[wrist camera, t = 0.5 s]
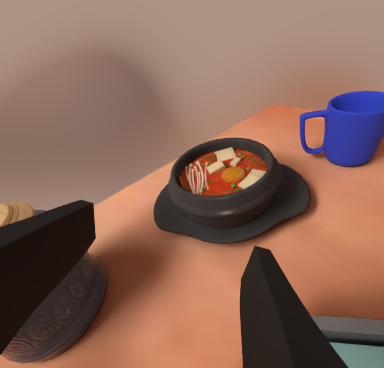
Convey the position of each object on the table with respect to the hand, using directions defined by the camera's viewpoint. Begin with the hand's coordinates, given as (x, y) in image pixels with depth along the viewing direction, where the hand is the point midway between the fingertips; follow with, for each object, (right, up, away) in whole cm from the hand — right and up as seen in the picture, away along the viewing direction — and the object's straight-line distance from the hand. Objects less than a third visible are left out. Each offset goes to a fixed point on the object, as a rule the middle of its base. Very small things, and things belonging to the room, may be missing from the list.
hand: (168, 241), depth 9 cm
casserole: (+7, -1, +26) cm, 27 cm away
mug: (+26, +7, +28) cm, 39 cm away
